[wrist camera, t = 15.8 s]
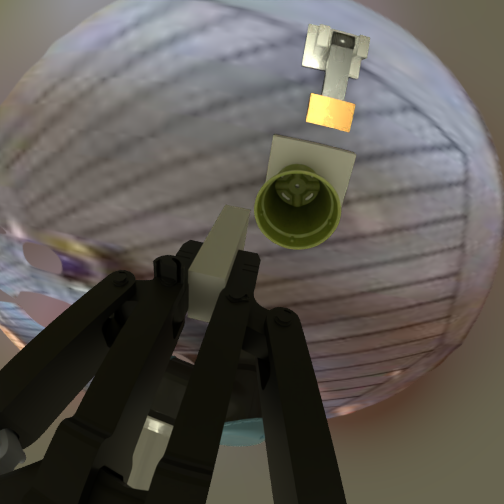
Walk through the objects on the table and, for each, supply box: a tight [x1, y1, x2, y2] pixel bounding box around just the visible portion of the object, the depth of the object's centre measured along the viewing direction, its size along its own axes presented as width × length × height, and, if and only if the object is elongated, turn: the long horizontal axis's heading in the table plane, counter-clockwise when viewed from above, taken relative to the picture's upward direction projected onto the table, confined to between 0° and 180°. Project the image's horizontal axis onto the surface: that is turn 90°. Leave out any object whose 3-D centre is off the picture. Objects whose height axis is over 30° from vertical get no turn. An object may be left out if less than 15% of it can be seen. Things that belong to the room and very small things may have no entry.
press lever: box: [305, 31, 355, 132], centre depth 22 cm, size 10×4×2 cm, turn 172°
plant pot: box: [254, 164, 341, 250], centre depth 32 cm, size 9×9×9 cm
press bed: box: [265, 134, 356, 207], centre depth 37 cm, size 12×11×2 cm
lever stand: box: [302, 24, 370, 79], centre depth 23 cm, size 6×7×9 cm
